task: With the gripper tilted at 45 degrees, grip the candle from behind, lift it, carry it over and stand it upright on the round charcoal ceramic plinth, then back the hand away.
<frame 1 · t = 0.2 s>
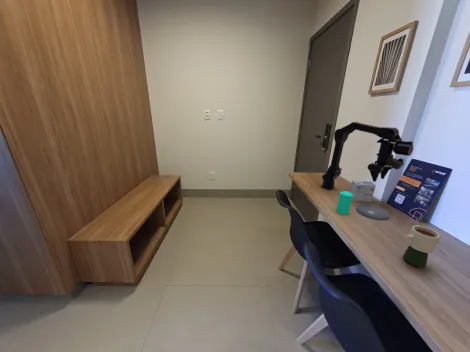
hand: (378, 180, 110), 15 cm above the table, tool pointing down, fingers open, 9 cm apart
character mug: (413, 262, 72), on the table
charcoal plinth: (371, 212, 105), on the table
candle: (342, 211, 106), on the table
light bulb box: (359, 199, 121), on the table
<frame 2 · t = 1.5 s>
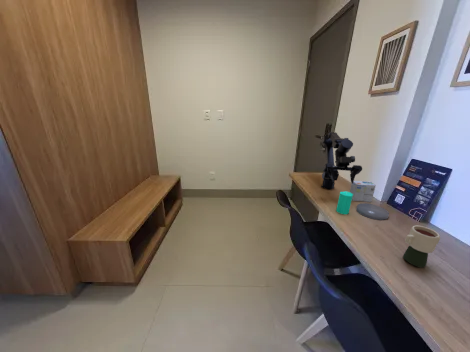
hand: (343, 182, 109), 13 cm above the table, tool tilted 45°, fingers open, 9 cm apart
nothing on the table moved.
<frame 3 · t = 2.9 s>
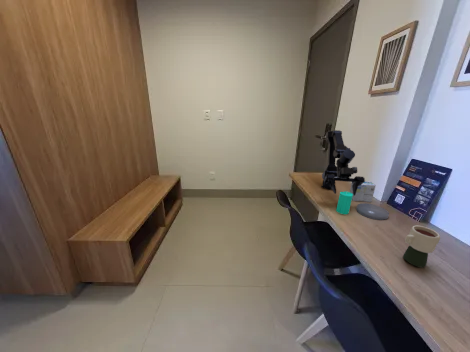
hand: (344, 194, 104), 9 cm above the table, tool tilted 45°, fingers open, 9 cm apart
nothing on the table moved.
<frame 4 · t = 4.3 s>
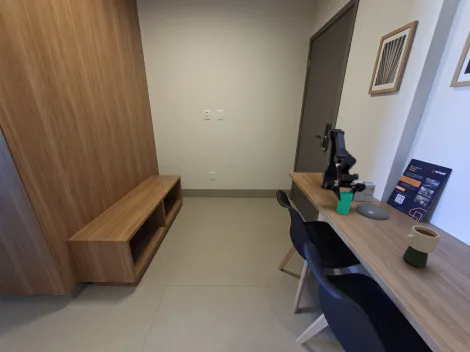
hand: (345, 201, 102), 7 cm above the table, tool tilted 45°, fingers closed on candle, 5 cm apart
candle: (342, 211, 106), on the table, touching gripper
everything else where it was.
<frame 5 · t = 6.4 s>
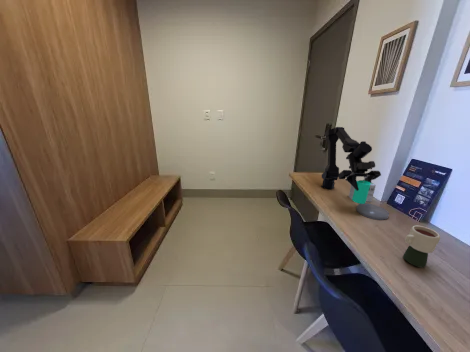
hand: (363, 190, 99), 13 cm above the table, tool tilted 45°, fingers closed on candle, 5 cm apart
candle: (358, 201, 103), point 7 cm above the table, touching gripper
everything else where it was.
when the fingers open (10 cm above the table, at t = 8.4 s): candle drops 1 cm, resting on charcoal plinth.
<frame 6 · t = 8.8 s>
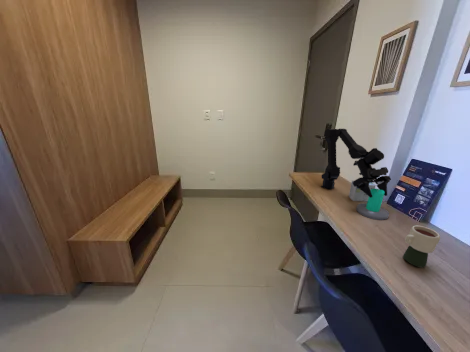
hand: (378, 196, 100), 10 cm above the table, tool tilted 45°, fingers open, 9 cm apart
candle: (372, 209, 105), point 2 cm above the table, touching charcoal plinth
everything else where it was.
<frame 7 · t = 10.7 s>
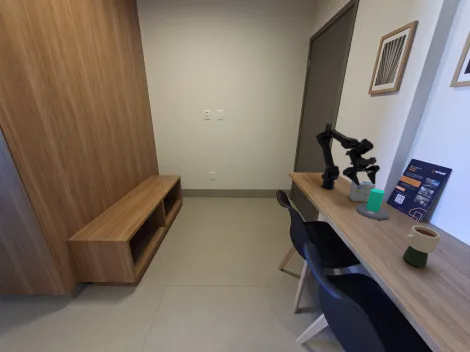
hand: (366, 185, 106), 13 cm above the table, tool tilted 40°, fingers open, 9 cm apart
nothing on the table moved.
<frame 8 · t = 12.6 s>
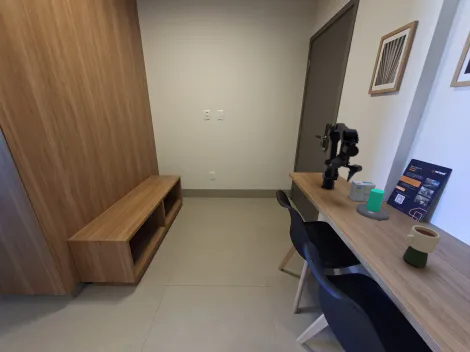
hand: (339, 179, 114), 13 cm above the table, tool pointing down, fingers open, 9 cm apart
nothing on the table moved.
at the end: candle 0.4 cm off-centre on the charcoal plinth, point 1.8 cm above the charcoal plinth's base; candle tilted 0°; the gripper is holding nothing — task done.
